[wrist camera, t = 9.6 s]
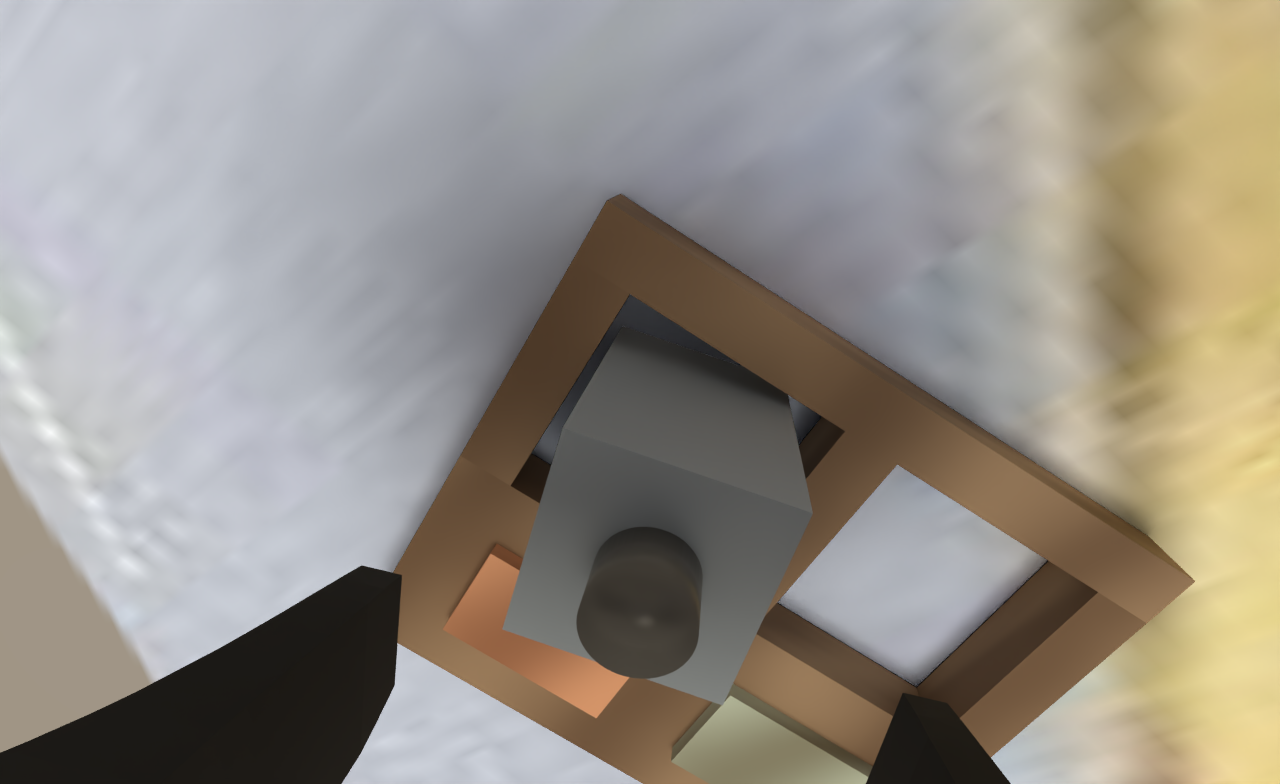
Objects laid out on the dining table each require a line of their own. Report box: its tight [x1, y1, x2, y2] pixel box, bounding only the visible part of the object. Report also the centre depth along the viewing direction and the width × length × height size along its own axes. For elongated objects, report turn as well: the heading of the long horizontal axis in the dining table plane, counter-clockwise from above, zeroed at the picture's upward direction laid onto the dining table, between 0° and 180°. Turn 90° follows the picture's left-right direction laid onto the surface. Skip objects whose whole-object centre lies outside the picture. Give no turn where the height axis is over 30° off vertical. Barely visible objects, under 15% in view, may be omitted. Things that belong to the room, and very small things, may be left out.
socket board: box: [393, 194, 1195, 784], centre depth 19 cm, size 16×14×2 cm
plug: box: [502, 326, 813, 705], centre depth 15 cm, size 4×4×8 cm
